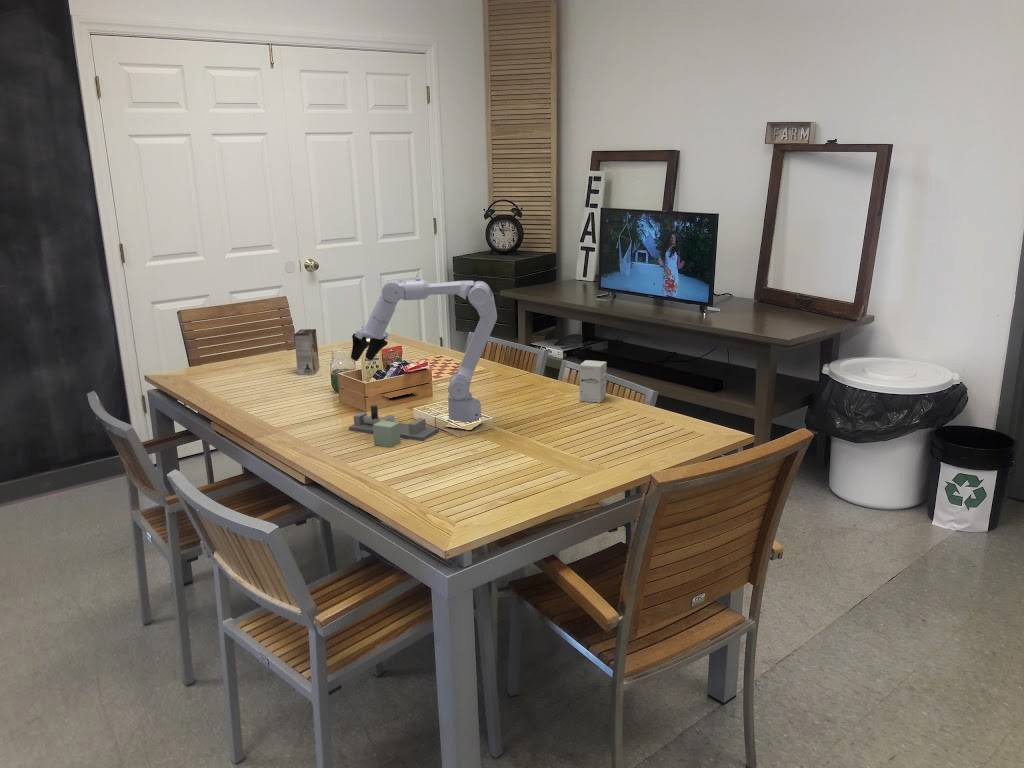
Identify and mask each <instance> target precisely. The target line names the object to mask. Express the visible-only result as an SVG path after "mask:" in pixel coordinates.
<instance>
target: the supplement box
mask: <svg viewBox="0 0 1024 768" xmlns="http://www.w3.org/2000/svg"><path fill="white" fill-rule="evenodd" d="M606 390H607V361H603V360H602V361H600V360H590V359H589V360H588V359H586V360H584V361H583V362H581V363H580V364H579V399H578V400H579V402H587V403H595V402H597V403H596V404H601V403H602V402H603V401H604V400H605V399H606V397H605V396H606V395H607V393H606V392H607V391H606ZM604 398H605V399H604ZM603 399H604V400H603ZM602 400H603V401H602ZM601 401H602V402H601ZM600 402H601V403H600Z"/></svg>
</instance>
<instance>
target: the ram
mask: <svg viewBox="0 0 1024 768" xmlns="http://www.w3.org/2000/svg"><path fill="white" fill-rule="evenodd" d="M382 420H383V421H391V422H395V415H391V414H387V415H386V416H384V417H381V416H379V411H378V405H376V404H374V405H370V415H368V414H367V415H365V416H363V417H362V423H369V424H376V423H378V422H380V421H382Z"/></svg>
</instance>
